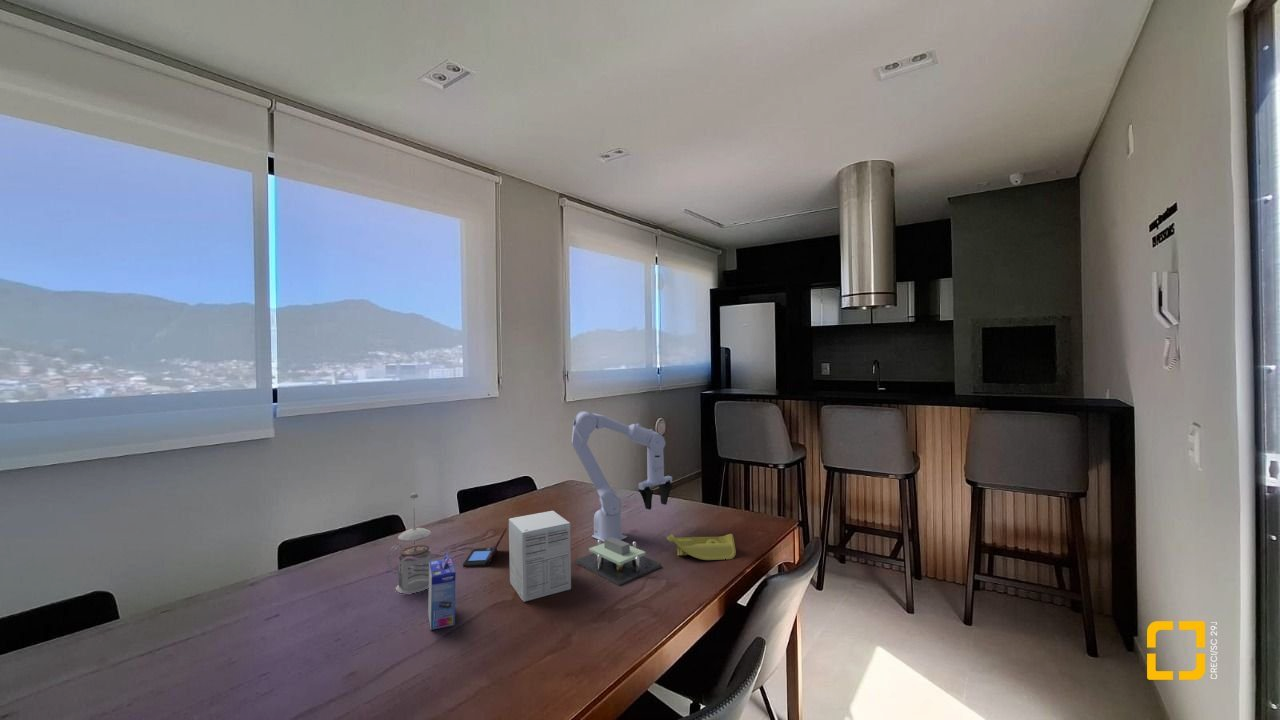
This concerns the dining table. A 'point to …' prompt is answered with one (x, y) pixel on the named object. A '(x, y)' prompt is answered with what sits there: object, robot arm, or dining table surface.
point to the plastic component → (705, 547)
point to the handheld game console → (481, 556)
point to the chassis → (618, 567)
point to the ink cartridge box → (441, 593)
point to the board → (616, 556)
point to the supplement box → (539, 555)
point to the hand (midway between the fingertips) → (656, 506)
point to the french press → (413, 560)
